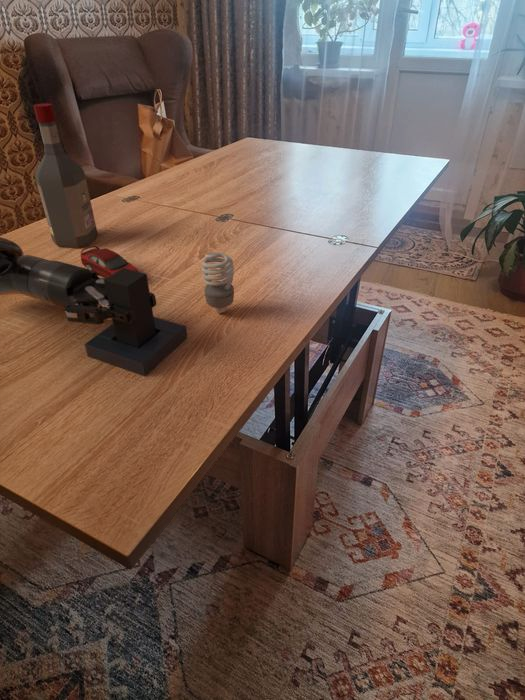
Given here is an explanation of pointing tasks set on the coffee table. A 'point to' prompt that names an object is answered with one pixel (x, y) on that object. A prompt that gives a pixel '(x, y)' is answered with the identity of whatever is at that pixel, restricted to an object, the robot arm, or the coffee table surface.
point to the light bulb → (218, 291)
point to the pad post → (131, 306)
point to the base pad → (135, 358)
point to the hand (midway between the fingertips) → (144, 308)
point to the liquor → (62, 188)
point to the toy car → (104, 261)
